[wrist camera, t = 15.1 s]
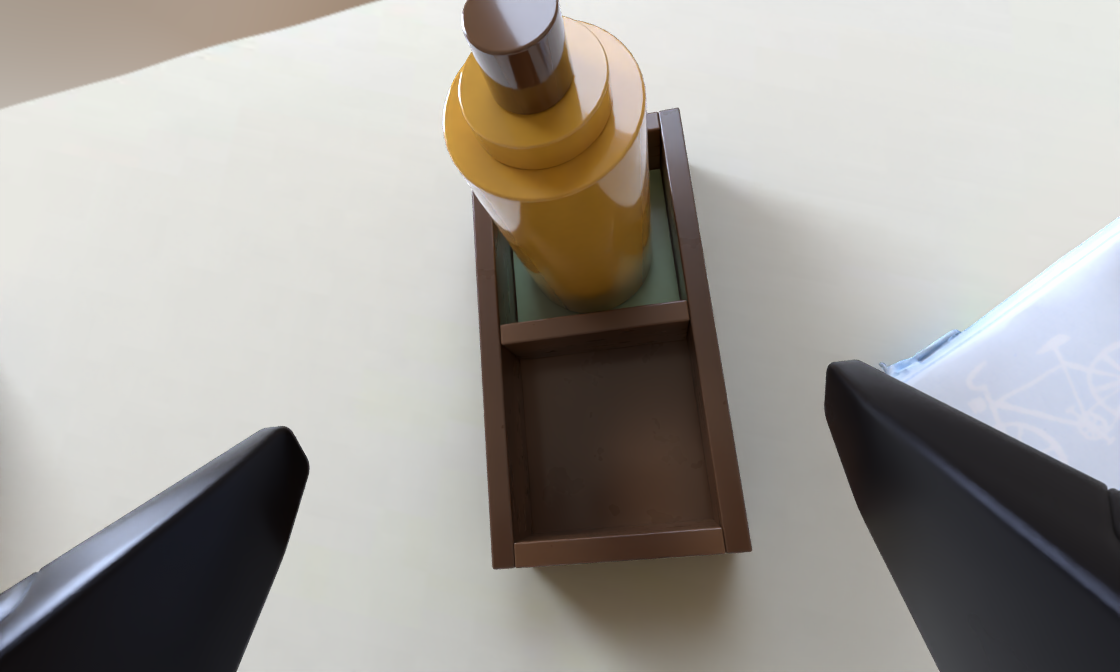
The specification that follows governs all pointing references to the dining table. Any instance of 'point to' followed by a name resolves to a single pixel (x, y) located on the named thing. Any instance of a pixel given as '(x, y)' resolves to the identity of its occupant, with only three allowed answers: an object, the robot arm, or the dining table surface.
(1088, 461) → the folded bicycle print cloth
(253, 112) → the dining table surface
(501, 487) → the brown divided tray
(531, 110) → the bottle
